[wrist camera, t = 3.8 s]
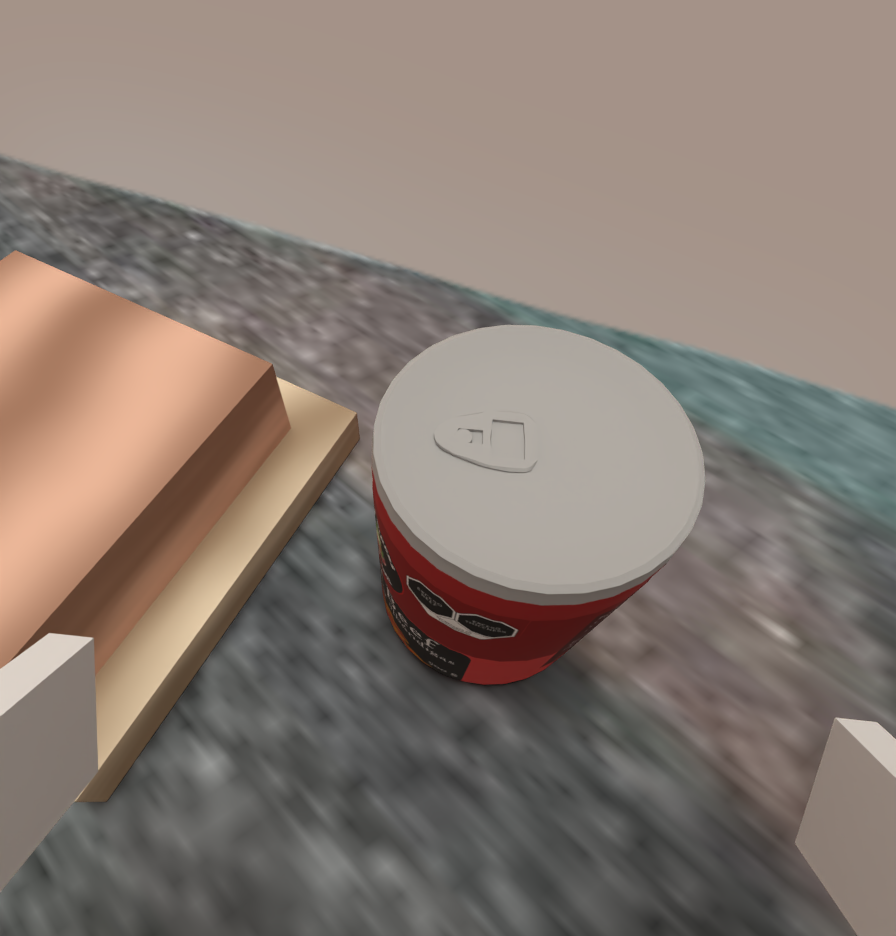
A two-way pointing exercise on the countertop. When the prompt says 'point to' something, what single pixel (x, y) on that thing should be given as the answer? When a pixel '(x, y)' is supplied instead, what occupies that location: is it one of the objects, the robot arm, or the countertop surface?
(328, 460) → the stand
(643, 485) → the canned food
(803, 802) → the countertop surface
